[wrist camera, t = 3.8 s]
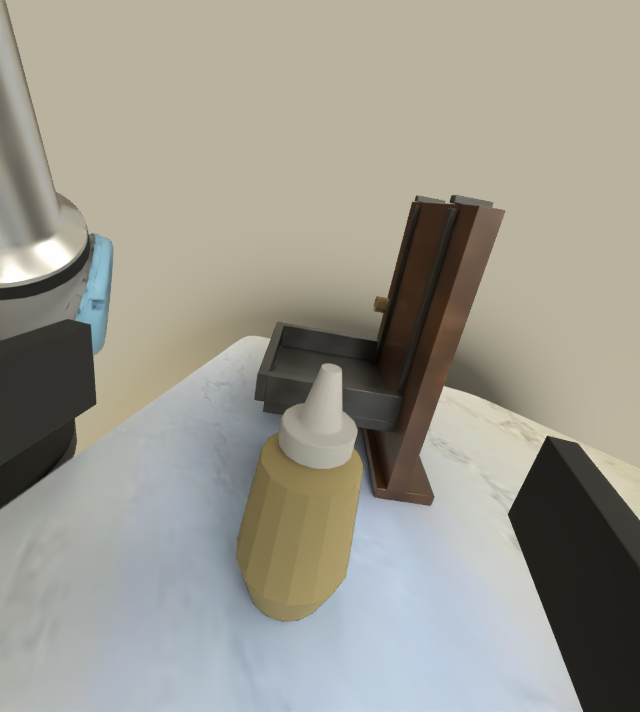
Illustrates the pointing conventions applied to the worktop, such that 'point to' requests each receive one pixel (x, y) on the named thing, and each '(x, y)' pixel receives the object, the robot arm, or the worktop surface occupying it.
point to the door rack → (396, 343)
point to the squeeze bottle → (302, 505)
